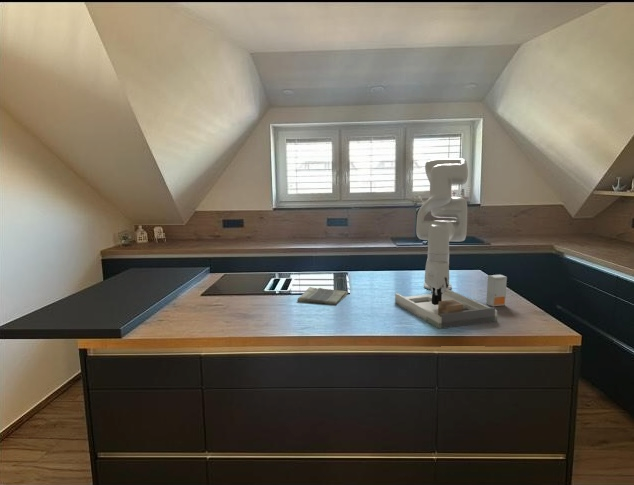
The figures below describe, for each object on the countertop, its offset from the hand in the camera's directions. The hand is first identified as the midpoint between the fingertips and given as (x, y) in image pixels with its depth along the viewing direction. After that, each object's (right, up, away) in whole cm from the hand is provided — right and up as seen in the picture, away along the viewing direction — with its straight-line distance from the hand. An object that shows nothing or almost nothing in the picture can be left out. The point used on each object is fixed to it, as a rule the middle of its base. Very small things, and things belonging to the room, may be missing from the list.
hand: (436, 303), depth 158 cm
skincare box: (+27, -2, +10) cm, 29 cm away
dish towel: (-43, -1, +23) cm, 49 cm away
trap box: (+3, -3, +3) cm, 5 cm away
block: (+2, -3, -9) cm, 10 cm away
